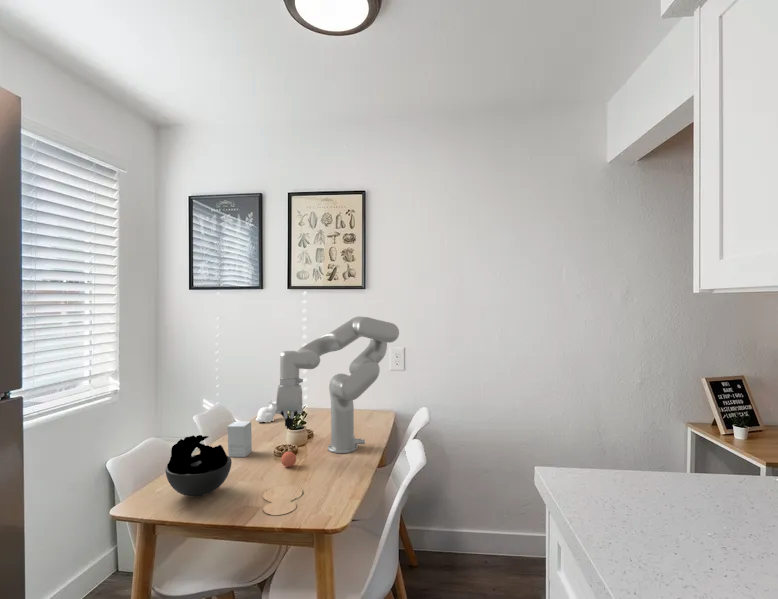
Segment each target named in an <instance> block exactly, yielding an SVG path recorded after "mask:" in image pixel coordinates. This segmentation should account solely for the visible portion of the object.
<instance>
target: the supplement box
mask: <svg viewBox="0 0 778 599" xmlns="http://www.w3.org/2000/svg"><path fill="white" fill-rule="evenodd" d="M227 450H228V451H227V452H228V453H227V454H228V455H227V456H229V457H230V458H246V457H247V456H248V455H249V454H251V453H252V452H253V451H252V450H253V449H252V421H234V422H232V423H230V424H229V425H227ZM251 451H252V452H251Z"/></svg>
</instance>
